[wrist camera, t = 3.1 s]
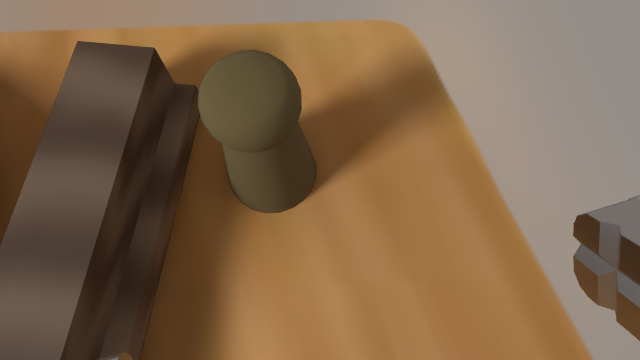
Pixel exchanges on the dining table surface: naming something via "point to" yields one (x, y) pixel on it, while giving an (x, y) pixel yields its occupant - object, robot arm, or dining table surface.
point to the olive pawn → (258, 129)
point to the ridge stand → (96, 208)
